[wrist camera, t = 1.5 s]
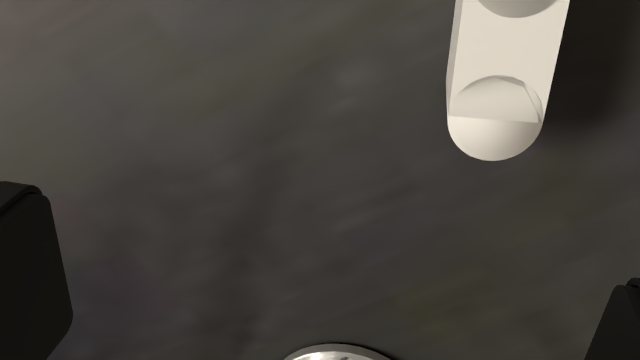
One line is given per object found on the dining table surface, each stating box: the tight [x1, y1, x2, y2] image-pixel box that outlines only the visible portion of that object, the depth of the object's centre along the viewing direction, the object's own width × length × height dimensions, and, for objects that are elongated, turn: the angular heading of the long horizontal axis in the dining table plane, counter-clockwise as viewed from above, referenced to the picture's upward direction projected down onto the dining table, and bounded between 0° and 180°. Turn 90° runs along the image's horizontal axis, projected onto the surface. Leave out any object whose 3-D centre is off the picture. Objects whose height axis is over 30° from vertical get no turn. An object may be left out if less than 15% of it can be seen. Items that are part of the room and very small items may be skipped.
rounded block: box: [446, 0, 570, 161], centre depth 28 cm, size 11×4×6 cm, turn 0°
